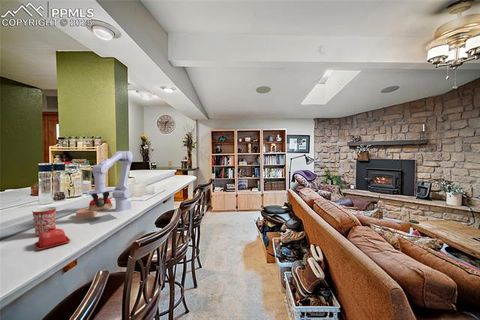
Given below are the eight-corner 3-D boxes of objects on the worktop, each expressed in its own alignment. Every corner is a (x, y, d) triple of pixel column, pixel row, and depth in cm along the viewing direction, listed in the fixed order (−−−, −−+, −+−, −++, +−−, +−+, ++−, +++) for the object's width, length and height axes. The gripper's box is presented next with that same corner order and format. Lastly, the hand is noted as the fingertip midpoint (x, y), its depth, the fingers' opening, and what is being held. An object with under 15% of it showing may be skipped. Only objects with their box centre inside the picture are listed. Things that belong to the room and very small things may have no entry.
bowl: (94, 213, 141) (93, 206, 141) (99, 216, 134) (99, 209, 133) (74, 217, 132) (73, 210, 132) (78, 220, 125) (78, 213, 125)
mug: (52, 236, 103) (51, 210, 102) (29, 238, 100) (27, 212, 99) (63, 227, 115) (62, 204, 114) (42, 229, 111) (41, 205, 111)
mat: (109, 214, 137) (109, 214, 137) (117, 219, 128) (117, 218, 128) (84, 220, 126) (84, 219, 126) (91, 225, 117) (91, 224, 117)
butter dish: (65, 237, 103) (65, 220, 102) (71, 243, 96) (70, 226, 95) (33, 245, 94) (33, 227, 93) (37, 253, 87) (36, 233, 86)
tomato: (113, 206, 159) (113, 195, 158) (110, 210, 147) (109, 198, 147) (92, 207, 154) (92, 196, 153) (87, 212, 142) (87, 200, 142)
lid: (108, 205, 136) (108, 196, 135) (115, 208, 128) (115, 199, 128) (86, 209, 126) (85, 200, 126) (92, 213, 118) (91, 203, 118)
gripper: (88, 185, 118) (88, 208, 119) (115, 182, 129) (115, 203, 130) (84, 184, 122) (85, 206, 123) (111, 181, 134) (111, 201, 134)
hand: (100, 204), depth 127 cm, fingers closed on lid, 4 cm apart
